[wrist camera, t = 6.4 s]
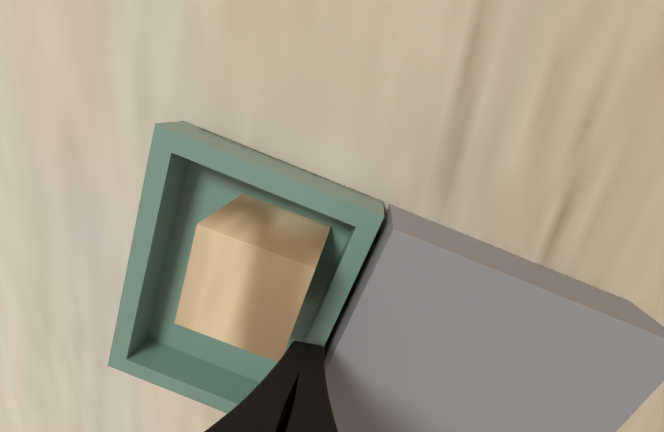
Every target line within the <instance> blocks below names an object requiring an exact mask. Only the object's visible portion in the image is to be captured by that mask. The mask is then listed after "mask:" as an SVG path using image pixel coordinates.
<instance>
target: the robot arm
mask: <svg viewBox="0 0 664 432" xmlns="http://www.w3.org/2000/svg"><path fill="white" fill-rule="evenodd" d="M324 352H325V348H324V347H323V346H321V345H316V344H311V343H305V342H300V341H293V342H292V343H291V344H290V346H289V348H288V349H287V351H286V352H285V353H284V355H283V356H282V358H281V359H280V360H279V361H278V363H277V364H276V365H275V366H274V367H273V369H272V370H271V371H270V372H269V373H268V375H267V376H266V377H265V378H264V379H263V380H262V381H261V382H260V383H259V384H258V385H257V386H256V387H255V388H254V390H253V391H252V392H251V393H250V394H249V395H248V396H247V397H246V398H244V399H243V400H242V401H241V402H240V403H239V404H238V405H237V406H236V407H235V408H233V409H232V410H231V411H230V412H229V413H228V414H227V415H225V416H224V417H223V418H222V419H220V420H219V421H218V422H216V423H215V424H214V425H213V426H211V427H210V428H209V429H207V430H206V431H205V432H338V430H337V427H336V423H335V420H334V416H333V412H332V408H331V404H330V400H329V395H328V390H327V384H326V378H325V368H324Z"/></svg>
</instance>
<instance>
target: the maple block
mask: <svg viewBox="0 0 664 432" xmlns="http://www.w3.org/2000/svg"><path fill="white" fill-rule="evenodd" d="M330 228H331V226H329V225H326V224H324V223H321V222H318V221H316V220H313V219H310V218H308V217H305V216H302V215H300V214H297V213H294V212H292V211H289V210H286V209H284V208H281V207H278V206H276V205H273V204H270V203H268V202H265V201H262V200H259V199H257V198H254V197H251V196H249V195H246V194H241V195H240V196H238V197H237V198H235V199H234V200H232V201H231V202H229V203H228V204H226V205H225V206H223V207H222V208H220V209H219V210H217V211H216V212H214V213H213V214H211V215H210V216H208V217H207V218H205V219H204V220H202V221H201V222H199V223H198V224H197V226H196V231H195V235H194V239H193V244H192V248H191V253H190V257H189V261H188V266H187V270H186V274H185V279H184V283H183V288H182V292H181V296H180V301H179V305H178V310H177V314H176V318H175V324H178V325H180V326H183V327H185V328H188V329H191V330H193V331H196V332H199V333H201V334H204V335H207V336H209V337H212V338H215V339H217V340H220V341H223V342H225V343H228V344H231V345H233V346H236V347H239V348H241V349H244V350H247V351H249V352H252V353H255V354H257V355H260V356H262V357H265V358H268V359H270V360H273V361H276V362H278V361H279V360H280V359H281V358H282V356H283V354H284V351H285V349H286V346H287V343H288V341H289V338H290V335H291V333H292V330H293V327H294V325H295V322H296V319H297V317H298V314H299V311H300V309H301V306H302V303H303V301H304V298H305V295H306V293H307V290H308V287H309V285H310V282H311V279H312V277H313V274H314V271H315V269H316V266H317V263H318V261H319V258H320V255H321V252H322V250H323V247H324V244H325V241H326V239H327V236H328V233H329V231H330Z"/></svg>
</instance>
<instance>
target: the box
mask: <svg viewBox="0 0 664 432" xmlns="http://www.w3.org/2000/svg"><path fill="white" fill-rule="evenodd" d="M241 194H246V195H249V196H251V197H254V198H257V199H259V200H262V201H265V202H268V203H270V204H273V205H276V206H278V207H281V208H284V209H286V210H289V211H292V212H294V213H297V214H300V215H302V216H305V217H308V218H310V219H313V220H316V221H318V222H321V223H324V224H326V225H329V226H331V228H330V231H329V233H328V236H327V239H326V241H325V244H324V247H323V250H322V252H321V255H320V258H319V261H318V263H317V266H316V269H315V271H314V274H313V277H312V279H311V282H310V285H309V287H308V290H307V293H306V295H305V298H304V301H303V303H302V306H301V309H300V311H299V314H298V317H297V319H296V322H295V325H294V327H293V330H292V333H291V335H290V338H289V341H288V343H287V346H286V349H285V351H284V353H285V352H286V351H287V349H288V348H289V346H290V344H291V343H292V342H293V341H300V342H305V343H311V344H316V345H321V346H323V347H324V346H325V344H326V341H327V339H328V337H329V335H330V333H331V331H332V328H333V326H334V324H335V322H336V320H337V318H338V315H339V313H340V311H341V309H342V307H343V305H344V303H345V300H346V298H347V296H348V294H349V292H350V290H351V287H352V285H353V283H354V281H355V279H356V277H357V275H358V272H359V270H360V268H361V266H362V264H363V262H364V259H365V257H366V255H367V253H368V251H369V249H370V247H371V244H372V242H373V240H374V238H375V236H376V234H377V231H378V229H379V227H380V225H381V223H382V221H383V218H384V205H383V201H380V200H378V199H375V198H373V197H370V196H368V195H365V194H363V193H360V192H358V191H355V190H353V189H350V188H348V187H346V186H343V185H341V184H338V183H336V182H333V181H331V180H328V179H326V178H323V177H321V176H318V175H316V174H313V173H311V172H308V171H306V170H304V169H301V168H299V167H296V166H294V165H291V164H289V163H286V162H284V161H281V160H279V159H276V158H274V157H271V156H269V155H266V154H264V153H262V152H259V151H257V150H254V149H252V148H249V147H247V146H244V145H242V144H239V143H237V142H234V141H232V140H229V139H227V138H224V137H222V136H219V135H217V134H215V133H212V132H210V131H207V130H205V129H202V128H200V127H197V126H195V125H192V124H190V123H187V122H185V121H180V122H168V123H157V124H155V128H154V133H153V138H152V143H151V148H150V153H149V158H148V164H147V169H146V174H145V179H144V184H143V189H142V194H141V199H140V204H139V210H138V215H137V220H136V225H135V230H134V235H133V240H132V245H131V251H130V256H129V261H128V266H127V271H126V276H125V281H124V286H123V291H122V297H121V302H120V307H119V312H118V317H117V322H116V327H115V332H114V337H113V343H112V348H111V353H110V358H109V363H108V366H110V367H113V368H115V369H118V370H120V371H123V372H125V373H128V374H130V375H133V376H135V377H138V378H140V379H143V380H145V381H148V382H150V383H153V384H155V385H158V386H160V387H163V388H165V389H168V390H170V391H173V392H175V393H178V394H180V395H183V396H186V397H188V398H191V399H193V400H196V401H198V402H201V403H203V404H206V405H208V406H211V407H213V408H216V409H218V410H221V411H223V412H226V413H229V412H230V411H231V410H232V409H233V408H235V407H236V406H237V405H238V404H239V403H240V402H241V401H242V400H243V399H244V398H246V397H247V396H248V395H249V394H250V393H251V392H252V391H253V390H254V388H255V387H256V386H257V385H258V384H259V383H260V382H261V381H262V380H263V379H264V378H265V377H266V376H267V375H268V373H269V372H270V371H271V370H272V369H273V367H274V366H275V365H276V364H277V363H278V362H276V361H273V360H270V359H268V358H265V357H262V356H260V355H257V354H255V353H252V352H249V351H247V350H244V349H241V348H239V347H236V346H233V345H231V344H228V343H225V342H223V341H220V340H217V339H215V338H212V337H209V336H207V335H204V334H201V333H199V332H196V331H193V330H191V329H188V328H185V327H183V326H180V325H178V324H175V318H176V314H177V310H178V305H179V301H180V296H181V292H182V288H183V283H184V279H185V274H186V270H187V266H188V261H189V257H190V253H191V248H192V244H193V239H194V235H195V231H196V226H197V224H198V223H199V222H201V221H202V220H204V219H205V218H207V217H208V216H210V215H211V214H213V213H214V212H216V211H217V210H219V209H220V208H222V207H223V206H225V205H226V204H228V203H229V202H231V201H232V200H234V199H235V198H237V197H238V196H240V195H241ZM283 355H284V354H283Z"/></svg>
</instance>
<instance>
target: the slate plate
mask: <svg viewBox="0 0 664 432" xmlns="http://www.w3.org/2000/svg"><path fill="white" fill-rule="evenodd" d="M324 348H325V352H324V368H325V378H326V384H327V390H328V395H329V400H330V404H331V408H332V412H333V416H334V420H335V423H336V427H337V430H338V432H616V431H617V430H618V429H619V428H620V427H621V426H622V425H623V424H624V423H625V421H626V420H627V419H628V418H629V417H630V416H631V415H632V414H633V413H634V412H635V411H636V410H637V409H638V408H639V406H640V405H641V404H642V403H643V402H644V401H645V400H646V399H647V398H648V397H649V396H650V395H651V394H652V393H653V391H654V390H655V389H656V388H657V387H658V386H659V385H660V384H661V383H662V382H663V381H664V327H663V326H661V325H660V324H659V323H657V322H656V321H655V320H654V319H652V318H651V317H650V316H648V315H647V314H646V313H644V312H643V311H642V310H641V309H639V308H638V307H637V306H635V305H634V304H633V303H631V302H630V301H627V300H625V299H622V298H620V297H617V296H615V295H612V294H610V293H608V292H605V291H603V290H600V289H598V288H595V287H593V286H590V285H588V284H585V283H583V282H580V281H578V280H575V279H573V278H570V277H568V276H566V275H563V274H561V273H558V272H556V271H553V270H551V269H548V268H546V267H543V266H541V265H538V264H536V263H533V262H531V261H528V260H526V259H524V258H521V257H519V256H516V255H514V254H511V253H509V252H506V251H504V250H501V249H499V248H496V247H494V246H491V245H489V244H486V243H484V242H481V241H479V240H477V239H474V238H472V237H469V236H467V235H464V234H462V233H459V232H457V231H454V230H452V229H449V228H447V227H444V226H442V225H439V224H437V223H435V222H432V221H430V220H427V219H425V218H422V217H420V216H417V215H415V214H412V213H410V212H407V211H405V210H402V209H400V208H397V207H395V206H393V205H389V207H388V209H387V211H386V214H385V216H384V218H383V221H382V223H381V225H380V227H379V229H378V231H377V234H376V236H375V238H374V240H373V242H372V244H371V247H370V249H369V251H368V253H367V255H366V257H365V259H364V262H363V264H362V266H361V268H360V270H359V272H358V275H357V277H356V279H355V281H354V283H353V285H352V287H351V290H350V292H349V294H348V296H347V298H346V300H345V303H344V305H343V307H342V309H341V311H340V313H339V315H338V318H337V320H336V322H335V324H334V326H333V328H332V331H331V333H330V335H329V337H328V339H327V341H326V344H325V346H324Z"/></svg>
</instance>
